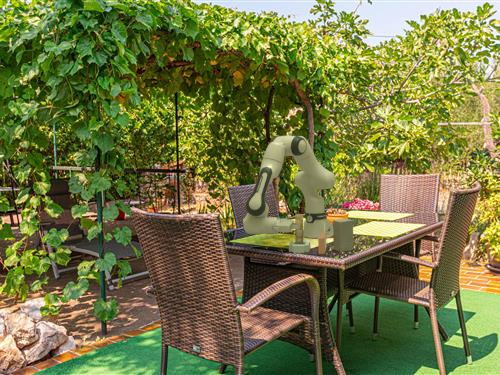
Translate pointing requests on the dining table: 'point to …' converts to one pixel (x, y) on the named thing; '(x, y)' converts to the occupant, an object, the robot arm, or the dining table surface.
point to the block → (299, 247)
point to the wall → (322, 243)
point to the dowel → (300, 231)
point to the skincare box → (343, 235)
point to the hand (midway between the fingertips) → (301, 226)
